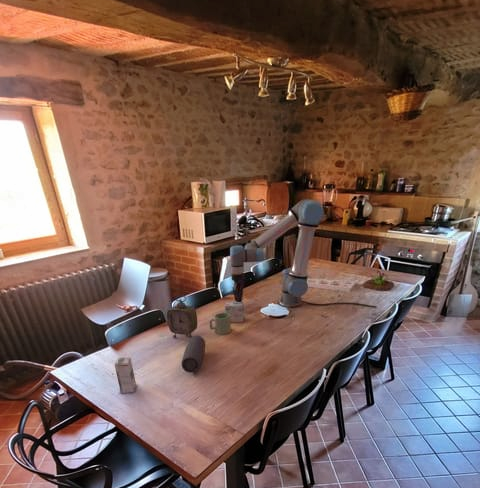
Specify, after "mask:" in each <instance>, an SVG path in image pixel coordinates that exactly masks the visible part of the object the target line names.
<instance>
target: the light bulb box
mask: <svg viewBox="0 0 480 488" xmlns="http://www.w3.org/2000/svg"><path fill="white" fill-rule="evenodd" d="M224 313H228V314H230V322H231V323H244V320H245V306H244V301H241V302H237V301H230V302H228V301H226V303H225V305H224Z"/></svg>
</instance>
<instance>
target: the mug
mask: <svg viewBox="0 0 480 488" xmlns="http://www.w3.org/2000/svg"><path fill="white" fill-rule="evenodd" d="M208 320H209V329H210V330H211V331H212V330H215V332H216V334H219V335H227V334H230V333H231V332H232V326H231V325H232V324H231V323H232V322H230V314H228V313H225V312H218V313H216V314H215V315H214V318H210V319H208ZM213 322H214V324H215V326H213Z"/></svg>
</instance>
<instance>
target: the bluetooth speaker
mask: <svg viewBox="0 0 480 488" xmlns="http://www.w3.org/2000/svg"><path fill="white" fill-rule="evenodd" d="M205 352H206V341H205V339H204V338H203V337H202V336H201V335H194V336H193V335H192V338H191V339H190V338H189V340H188V342H187V345H186V347H185V349H184V351H183V356H182V359H181V368H182V370H183V371H185V372H186V373H190V374H191V373H193V374H194V373H197V372H198V371H199V369H200V368H201V365H202V363H203V359H204V357H205Z"/></svg>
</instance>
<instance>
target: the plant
mask: <svg viewBox="0 0 480 488" xmlns="http://www.w3.org/2000/svg"><path fill="white" fill-rule="evenodd" d="M375 274H379V275H378V276H373V278H371V279H368V280H366V281H365V282H364V283H363V288H364V289H369V290H374V291H379V292H382V291H386V292H388V291H391V290H392V288H393V287H394V286H395V283H394V282H393V281H391V280H388V278H389V276H388V274H385V273H384V272H382V273H381V271H379V270H376V271H375Z"/></svg>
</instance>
